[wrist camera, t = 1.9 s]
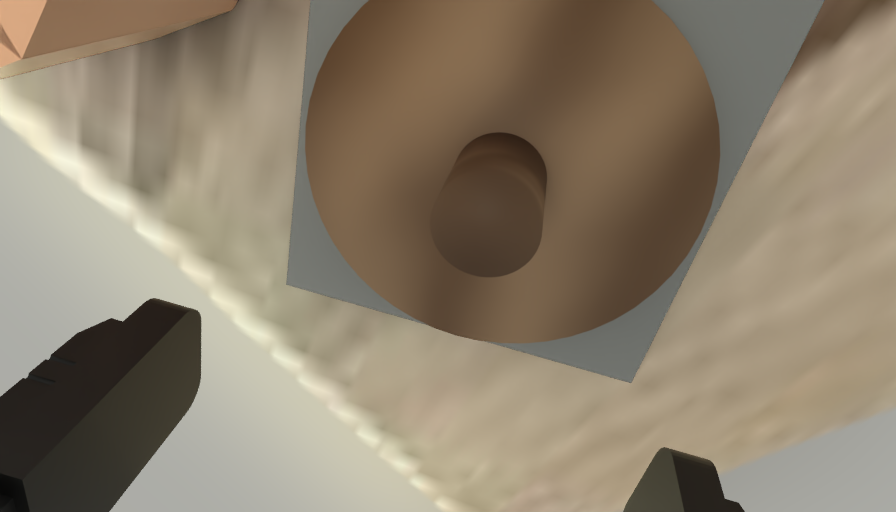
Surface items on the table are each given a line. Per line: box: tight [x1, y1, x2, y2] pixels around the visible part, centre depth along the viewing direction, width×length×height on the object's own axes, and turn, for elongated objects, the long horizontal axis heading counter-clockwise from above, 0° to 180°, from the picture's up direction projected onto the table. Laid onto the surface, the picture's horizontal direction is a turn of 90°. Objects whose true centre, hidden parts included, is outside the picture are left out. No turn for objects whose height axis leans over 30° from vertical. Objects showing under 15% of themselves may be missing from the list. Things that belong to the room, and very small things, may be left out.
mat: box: [286, 0, 824, 383], centre depth 21 cm, size 15×15×1 cm
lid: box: [305, 0, 720, 343], centre depth 19 cm, size 14×14×5 cm
